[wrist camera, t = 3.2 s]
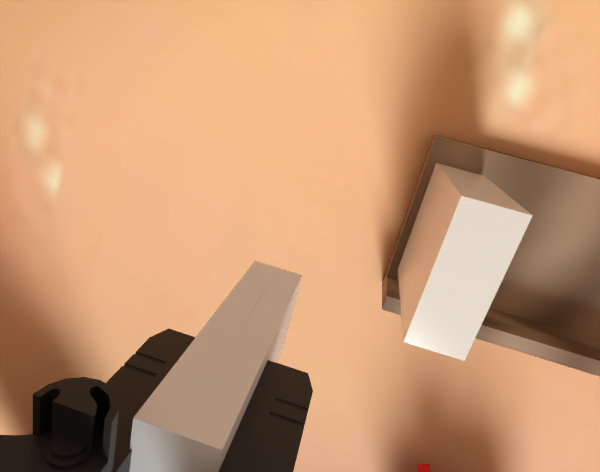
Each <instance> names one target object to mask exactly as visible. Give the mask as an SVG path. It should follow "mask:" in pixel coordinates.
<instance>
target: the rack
mask: <svg viewBox="0 0 600 472" xmlns="http://www.w3.org/2000/svg"><path fill="white" fill-rule="evenodd" d="M436 163H439V164H442V165H446V166H450V167H454V168H457V169H461V170H465V171H468V172H472V173H476V174H479V175H483V176H485V177H486V178H487V179H489V180H490V181H491V182H492V183H494V184H495V185H496V186H497V187H498V188H500V189H501V190H502V191H503V192H505V193H506V194H507V195H508V196H509V197H511V198H512V199H513V200H514V201H516V202H517V203H518V204H519V205H521V206H522V207H523V208H524V209H525V210H527V211H528V212H529V213H530V214H532V215H533V216H532V218H531V220H530V222H529V225H528V227H527V229H526V231H525V233H524V235H523V237H522V239H521V242H520V244H519V246H518V248H517V250H516V252H515V254H514V257H513V259H512V261H511V263H510V265H509V267H508V269H507V271H506V274H505V276H504V278H503V280H502V282H501V284H500V286H499V288H498V291H497V293H496V295H495V297H494V299H493V301H492V303H491V305H490V308H489V310H488V312H487V314H486V316H485V318H484V320H483V322H482V325H481V327H480V329H479V331H478V333H477V335H476V337H475V338H477V339H480V340H483V341H487V342H490V343H493V344H496V345H500V346H503V347H506V348H509V349H513V350H516V351H519V352H522V353H526V354H529V355H532V356H535V357H539V358H542V359H545V360H548V361H552V362H555V363H558V364H561V365H565V366H568V367H571V368H574V369H577V370H581V371H584V372H587V373H590V374H594V375H597V376H600V179H599V178H595V177H592V176H588V175H584V174H580V173H576V172H573V171H569V170H565V169H561V168H557V167H554V166H550V165H546V164H542V163H539V162H535V161H531V160H527V159H523V158H520V157H516V156H512V155H508V154H504V153H501V152H497V151H493V150H489V149H486V148H482V147H478V146H474V145H470V144H467V143H463V142H459V141H455V140H451V139H448V138H444V137H440V136H436V135H434V137H433V140H432V143H431V146H430V149H429V152H428V154H427V157H426V160H425V163H424V166H423V169H422V172H421V174H420V177H419V180H418V183H417V186H416V189H415V191H414V194H413V197H412V200H411V203H410V206H409V208H408V211H407V214H406V217H405V220H404V223H403V226H402V228H401V231H400V234H399V237H398V240H397V243H396V245H395V248H394V251H393V254H392V257H391V260H390V263H389V265H388V268H387V271H386V274H385V277H384V280H383V282H382V309H383V310H386V311H389V312H393V313H396V314H399V315H401V305H400V292H399V280H398V267H399V264H400V262H401V259H402V256H403V253H404V250H405V248H406V245H407V242H408V239H409V237H410V234H411V231H412V228H413V226H414V223H415V220H416V217H417V215H418V212H419V209H420V206H421V203H422V201H423V198H424V195H425V192H426V190H427V187H428V184H429V181H430V179H431V176H432V173H433V170H434V168H435V165H436Z"/></svg>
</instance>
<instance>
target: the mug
mask: <svg viewBox="0 0 600 472" xmlns="http://www.w3.org/2000/svg"><path fill="white" fill-rule="evenodd" d="M417 466H418V472H431V470H430V465H429V464H418V465H417Z"/></svg>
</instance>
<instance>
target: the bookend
mask: <svg viewBox="0 0 600 472" xmlns="http://www.w3.org/2000/svg"><path fill="white" fill-rule="evenodd" d="M532 216H533V215H532V214H530V213H529V212H528V211H527V210H525V209H524V208H523V207H522V206H521V205H519V204H518V203H517V202H516V201H514V200H513V199H512V198H511V197H509V196H508V195H507V194H506V193H505V192H503V191H502V190H501V189H500V188H498V187H497V186H496V185H495V184H494V183H492V182H491V181H490V180H489V179H487V178H486V177H485V176H483V175H479V174H476V173H472V172H468V171H465V170H461V169H457V168H454V167H450V166H446V165H442V164H439V163H436V165H435V168H434V170H433V173H432V176H431V179H430V181H429V184H428V187H427V190H426V192H425V195H424V198H423V201H422V203H421V206H420V209H419V212H418V215H417V217H416V220H415V223H414V226H413V228H412V231H411V234H410V237H409V239H408V242H407V245H406V248H405V250H404V253H403V256H402V259H401V262H400V264H399V267H398V280H399V292H400V305H401V317H402V330H403V342H405V343H409V344H412V345H415V346H418V347H421V348H425V349H428V350H431V351H434V352H437V353H440V354H444V355H447V356H450V357H453V358H456V359H460V360H463V361H465V359H466V357H467V354H468V352H469V350H470V348H471V346H472V344H473V342H474V340H475V337H476V335H477V333H478V331H479V329H480V327H481V325H482V322H483V320H484V318H485V316H486V314H487V312H488V310H489V308H490V305H491V303H492V301H493V299H494V297H495V295H496V293H497V291H498V288H499V286H500V284H501V282H502V280H503V278H504V276H505V274H506V271H507V269H508V267H509V265H510V263H511V261H512V259H513V257H514V254H515V252H516V250H517V248H518V246H519V244H520V242H521V239H522V237H523V235H524V233H525V231H526V229H527V227H528V225H529V222H530V220H531V218H532Z"/></svg>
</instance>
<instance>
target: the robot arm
mask: <svg viewBox="0 0 600 472" xmlns="http://www.w3.org/2000/svg"><path fill="white" fill-rule="evenodd" d="M301 277H302V275H299V274H296V273H293V272H290V271H286V270H283V269H280V268H277V267H274V266H270V265H267V264H264V263H261V262H257V261H254V263H253V264H252V265H251V267H250V268H249V269H248V271H247V272H246V273H245V274H244V276H243V277H242V278H241V280H240V281H239V282H238V283H237V285H236V286H235V287H234V289H233V290H232V291H231V292H230V294H229V295H228V296H227V298H226V299H225V300H224V302H223V303H222V304H221V305H220V307H219V308H218V309H217V311H216V312H215V313H214V314H213V316H212V317H211V318H210V320H209V321H208V322H207V323H206V325H205V326H204V327H203V329H202V330H201V331H200V332H199V334H198V335H197V336H196V338H195V337H192V336H189V335H186V334H183V333H180V332H177V331H174V330H171V329H167V330H165V331H163V332H161V333H158V334H156V335H154V336H152V337H150V338H149V339H148V340H147V341H146V342H145V343H144V344H143V345H142V346H141V347H140V348H139V349H138V350H137V351H136V354H135V355H134V354H133V356H132V357H131V358H130V359H129V360H128V361H127V362H126V363H125V365H124V367H123V366H122V367H121V368H120V369H119V370H118V371H117V372H116V373H115V374H114V375H113V376H112V377H111V378H110V379H109V381H108V382H107V383H104V382H102V381H101V380H96V379H91V378H85V377H81V378H69V379H64V380H61V381H58V382H55V383H51V384H48V385H47V386H45V387H44V388H42V389H41V390H39V391H37V392H36V393H34V394H33V434H31V435H16V436H13V435H0V472H293V470H294V466H295V462H296V458H297V453H298V449H299V445H300V441H301V437H302V433H303V429H304V425H305V421H306V417H307V413H308V408H309V404H310V400H311V396H312V392H313V390H312V386H311V383H310V379H309V376H308V373H305V372H302V371H299V370H296V369H293V368H290V367H287V366H284V365H281V364H278V363H277V360H278V358H279V355H280V353H281V350H282V348H283V344H284V340H285V337H286V333H287V329H288V325H289V322H290V318H291V314H292V311H293V307H294V303H295V299H296V296H297V292H298V288H299V285H300V281H301Z"/></svg>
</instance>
